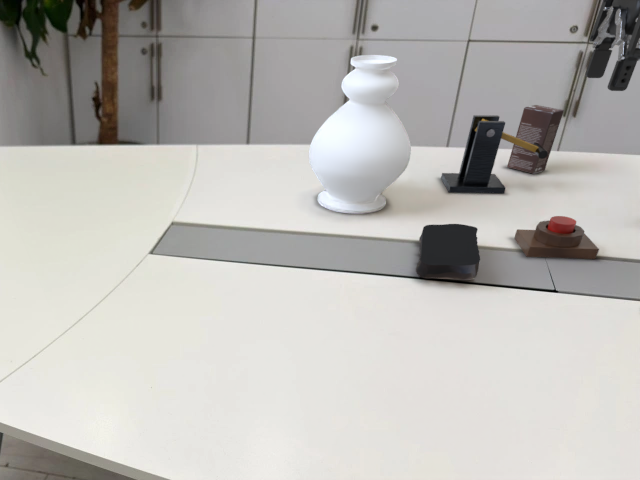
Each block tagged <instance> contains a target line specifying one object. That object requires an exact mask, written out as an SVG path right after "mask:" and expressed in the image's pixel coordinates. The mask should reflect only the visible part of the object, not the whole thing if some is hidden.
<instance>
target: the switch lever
mask: <svg viewBox="0 0 640 480" xmlns="http://www.w3.org/2000/svg"><path fill="white" fill-rule="evenodd" d="M481 121H488V120H485V119H482V120H481ZM476 130H477V128H476V129H475V131H476ZM501 140H504V141H506V142H509V143H511V144H513V145H514V144H515V145H518V146H520V147H523V148H525V149H527V150H530V151H532V152H534V153H535V154H536V155H537V156H538V157H539V158H540V159H543V158H545V157H546V156H547V155H548V152H547V151H546V150H545V149H544V148H543V147H542V146H541V145H540V144H539V143H533V144H531V143H528V142H526V141H523V140H521V139H519V138H516V136H514V135H512V134H509V133H506V132H504V131H503V133H502V137H501Z"/></svg>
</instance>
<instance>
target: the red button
mask: <svg viewBox="0 0 640 480" xmlns="http://www.w3.org/2000/svg"><path fill="white" fill-rule="evenodd" d="M549 221H550V222H549V224H548V227H547V229H548V230H550V231H552V232H556V233H561V234H570V233H573V230H574V228H575V225H577V220H576V219H574V218H572V217H568V216H563V215H553V216H552V217H550V219H549Z"/></svg>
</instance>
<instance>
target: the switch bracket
mask: <svg viewBox="0 0 640 480" xmlns="http://www.w3.org/2000/svg"><path fill="white" fill-rule="evenodd" d="M482 119H485V120H488V121H481V120H482ZM505 126H506V121H504V120H500V115H489V114H486V115H485V114H484V115H480V114H479V115H478V114H474V115H473V116H472V120H471V124H470V128H469V131H468V132H469V133H468V136H467V140H466V144H465V148H464V152H463V156H462V160H461V164H460V168H459V172H457V173H456V172H454V173H453V172H442V173H441V177H440V181H442V183H443V185H444V187H445V188H446V190H447V192H448V193H452V194H453V193H454V194H456V193H458V194H499V195H504V194H505V192H506V186H505V185H504V183H503V182H502V181H501V180H500V178H499V177H498V176H497V175H496V174H495V173H493V169H494V166H495V161H496V158H497V155H498V151H499V148H500V144H501V140H502V139H501V137H502V133H503V132H504V129H505ZM476 128H477V130H476V131H475V129H476Z"/></svg>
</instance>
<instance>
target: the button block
mask: <svg viewBox="0 0 640 480" xmlns="http://www.w3.org/2000/svg"><path fill="white" fill-rule="evenodd" d="M549 222H550V220H544V221H540V222H539V223H538V224H537V225H536V227H535V229H516V232H515V235H514V241H515V242H516V243H517V245H518V247H519V248H520V249H521V251H522V252H523V254H524V255H525V256H526V257H527V258H550V259H551V258H552V259H553V258H555V259H579V260H580V259H582V260H583V259H584V260H596V258H597V256H598V253H599V251H600V248H599V247H598V246H597V245H596V243H594V242H593V241H592V240H591V238H589V236H588V235H586V233H585V230H584V229H583V228H582V226H579V225H577V224H576V225H575V228H574V230H573V233H570V234H561V233H556V232H552V231H550V230H548V229H547V227H548V224H549Z"/></svg>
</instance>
